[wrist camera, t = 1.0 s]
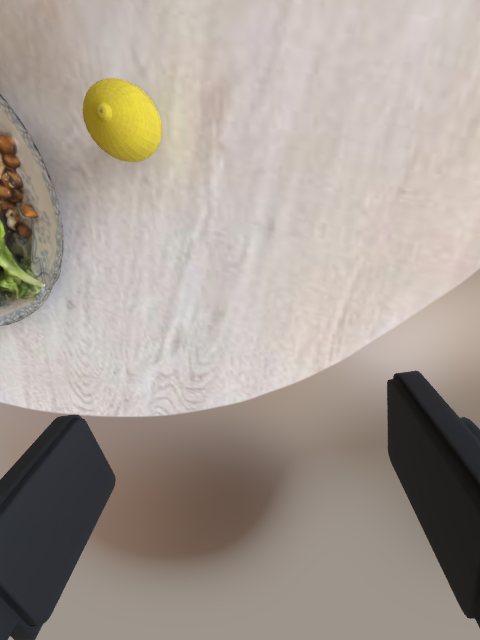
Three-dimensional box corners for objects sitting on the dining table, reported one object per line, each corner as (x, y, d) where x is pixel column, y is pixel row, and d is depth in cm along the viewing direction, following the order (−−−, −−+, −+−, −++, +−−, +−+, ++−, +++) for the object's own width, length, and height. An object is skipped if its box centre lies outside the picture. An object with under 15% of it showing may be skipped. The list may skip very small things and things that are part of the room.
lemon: (171, 169, 29) (140, 161, 21) (115, 161, 29) (66, 150, 21) (173, 101, 26) (140, 66, 19) (113, 92, 27) (57, 54, 19)
